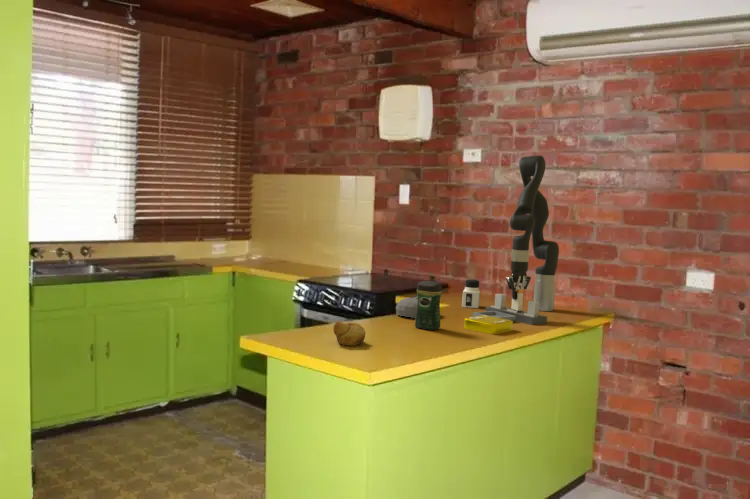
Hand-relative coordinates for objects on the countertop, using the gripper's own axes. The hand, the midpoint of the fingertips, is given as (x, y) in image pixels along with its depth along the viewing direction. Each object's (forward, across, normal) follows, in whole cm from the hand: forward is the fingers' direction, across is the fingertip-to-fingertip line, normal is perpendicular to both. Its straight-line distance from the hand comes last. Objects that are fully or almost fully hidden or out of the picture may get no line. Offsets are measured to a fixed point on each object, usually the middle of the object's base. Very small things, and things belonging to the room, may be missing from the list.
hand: (517, 298), depth 304 cm
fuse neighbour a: (+9, 0, -10) cm, 13 cm away
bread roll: (+8, +96, +15) cm, 97 cm away
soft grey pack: (+9, +41, -20) cm, 46 cm away
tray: (+8, +13, 0) cm, 16 cm away
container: (+9, -1, -30) cm, 31 cm away
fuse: (+9, 0, +10) cm, 13 cm away
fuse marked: (+5, 0, 0) cm, 5 cm away
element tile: (+9, +30, +14) cm, 34 cm away
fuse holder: (+9, 0, 0) cm, 9 cm away
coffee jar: (+8, +53, +4) cm, 54 cm away
